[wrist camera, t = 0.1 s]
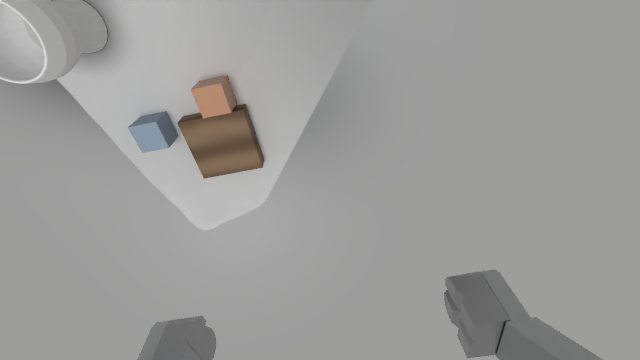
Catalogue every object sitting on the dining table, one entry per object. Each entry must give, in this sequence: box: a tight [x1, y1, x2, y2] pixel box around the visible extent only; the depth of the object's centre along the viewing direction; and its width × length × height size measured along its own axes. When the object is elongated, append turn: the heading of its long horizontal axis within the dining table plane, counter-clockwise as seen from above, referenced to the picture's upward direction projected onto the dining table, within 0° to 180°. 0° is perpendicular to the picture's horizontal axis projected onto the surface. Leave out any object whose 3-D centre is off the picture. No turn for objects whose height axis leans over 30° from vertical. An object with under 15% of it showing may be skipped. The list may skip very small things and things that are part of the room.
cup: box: [0, 0, 108, 83], centre depth 40 cm, size 11×11×15 cm
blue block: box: [128, 111, 178, 153], centre depth 54 cm, size 5×5×5 cm
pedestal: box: [178, 104, 264, 178], centre depth 57 cm, size 12×12×3 cm
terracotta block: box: [191, 76, 237, 118], centre depth 51 cm, size 5×5×5 cm
